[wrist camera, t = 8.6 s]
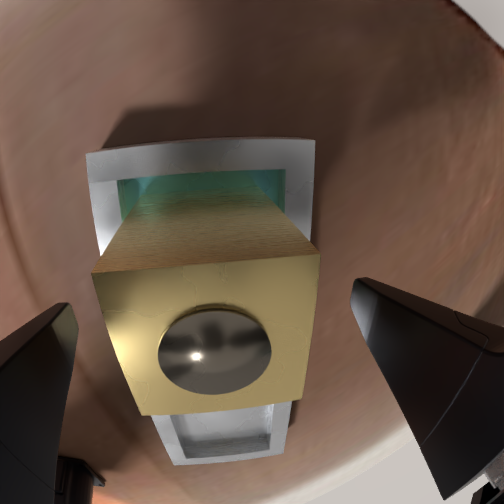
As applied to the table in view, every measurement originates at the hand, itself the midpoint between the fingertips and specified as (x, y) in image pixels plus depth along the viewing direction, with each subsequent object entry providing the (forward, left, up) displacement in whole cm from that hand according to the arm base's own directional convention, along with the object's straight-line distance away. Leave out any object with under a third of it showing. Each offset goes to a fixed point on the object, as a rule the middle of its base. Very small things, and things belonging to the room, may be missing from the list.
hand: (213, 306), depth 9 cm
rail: (-7, 0, -6) cm, 9 cm away
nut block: (0, 0, -5) cm, 5 cm away
